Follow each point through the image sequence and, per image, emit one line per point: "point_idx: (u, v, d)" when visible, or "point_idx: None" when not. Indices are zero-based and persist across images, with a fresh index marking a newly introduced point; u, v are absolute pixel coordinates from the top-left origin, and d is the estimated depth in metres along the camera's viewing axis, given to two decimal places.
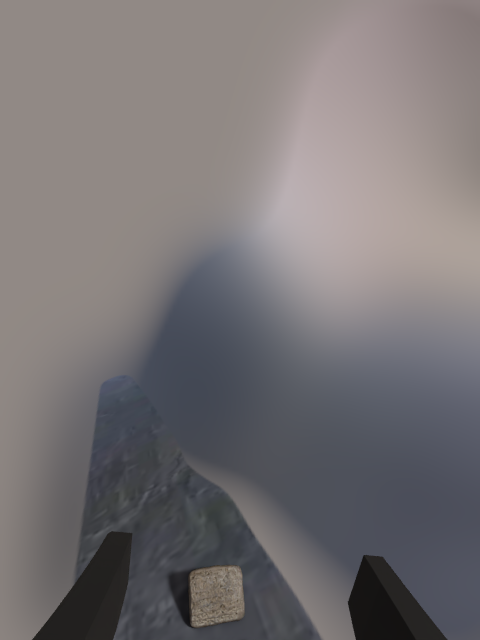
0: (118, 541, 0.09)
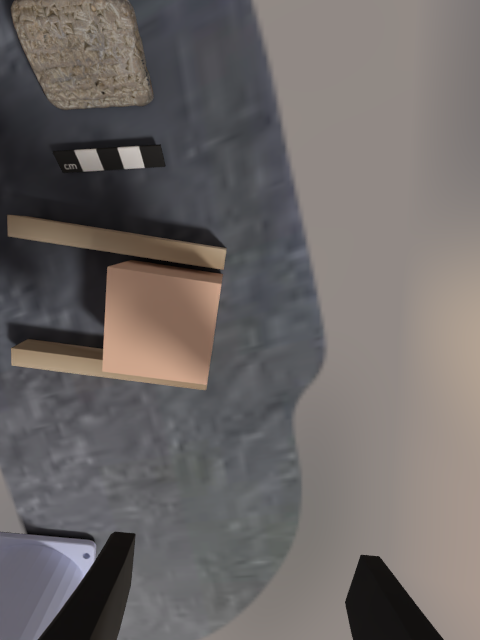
0: (121, 541, 0.09)
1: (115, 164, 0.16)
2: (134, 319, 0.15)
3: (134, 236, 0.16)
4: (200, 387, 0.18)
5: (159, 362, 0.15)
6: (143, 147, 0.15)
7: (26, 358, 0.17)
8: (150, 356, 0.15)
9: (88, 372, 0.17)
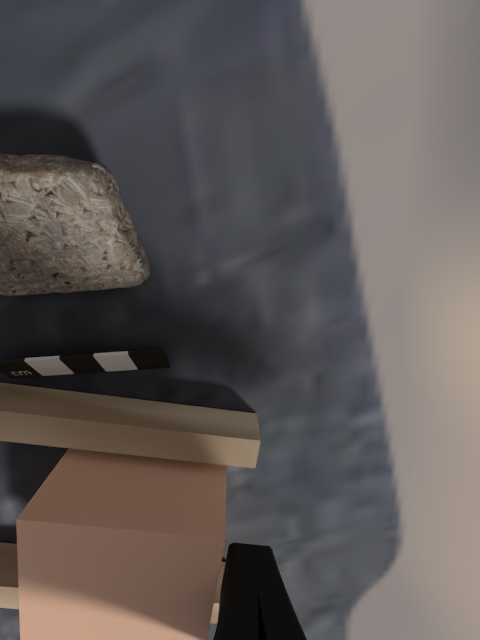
0: (244, 553, 0.09)
1: (92, 368, 0.10)
2: (72, 592, 0.08)
3: (108, 424, 0.09)
4: (215, 620, 0.12)
5: None
6: (134, 352, 0.10)
7: None
8: None
9: None
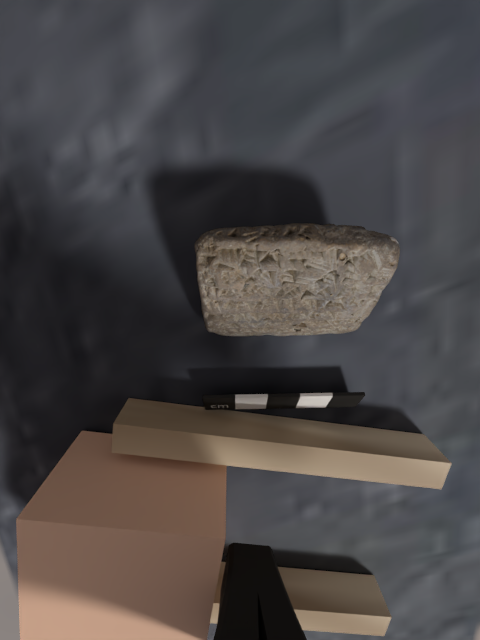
0: (244, 553, 0.09)
1: (286, 405, 0.11)
2: (72, 592, 0.08)
3: (311, 448, 0.10)
4: (376, 633, 0.12)
5: None
6: (337, 393, 0.10)
7: None
8: None
9: (214, 620, 0.12)
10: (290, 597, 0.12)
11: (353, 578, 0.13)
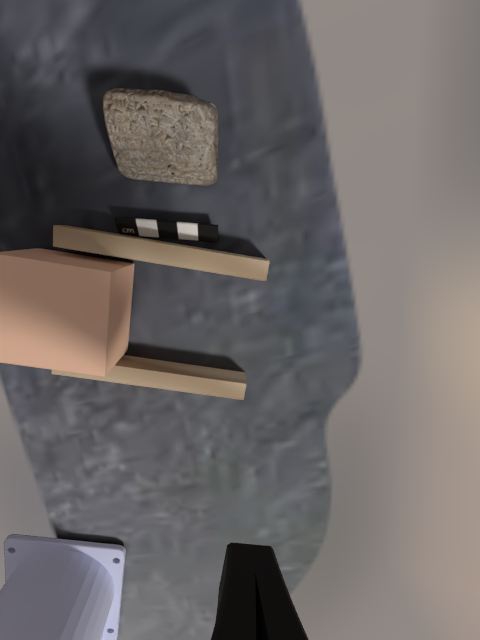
0: (243, 553, 0.09)
1: (171, 234, 0.17)
2: (23, 308, 0.14)
3: (178, 247, 0.16)
4: (237, 397, 0.18)
5: (54, 353, 0.15)
6: (201, 225, 0.16)
7: None
8: (43, 347, 0.15)
9: (127, 381, 0.18)
10: (179, 371, 0.18)
11: (229, 371, 0.19)
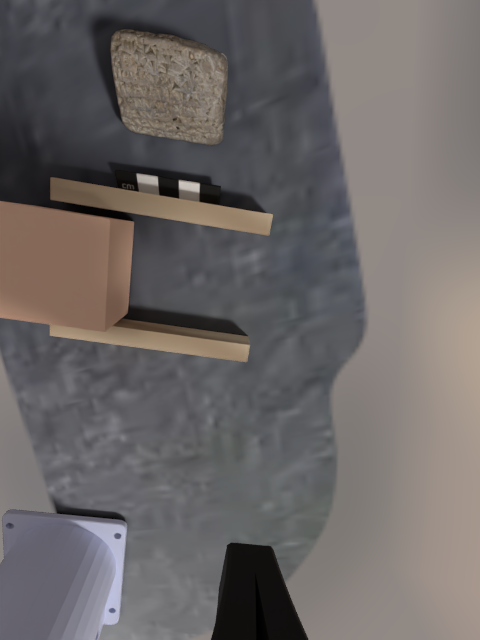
0: (242, 552, 0.09)
1: (172, 194, 0.16)
2: (20, 258, 0.14)
3: (179, 200, 0.15)
4: (241, 359, 0.18)
5: (52, 307, 0.14)
6: (203, 185, 0.16)
7: (65, 328, 0.17)
8: (41, 300, 0.14)
9: (127, 343, 0.17)
10: (181, 333, 0.17)
11: (231, 335, 0.19)
